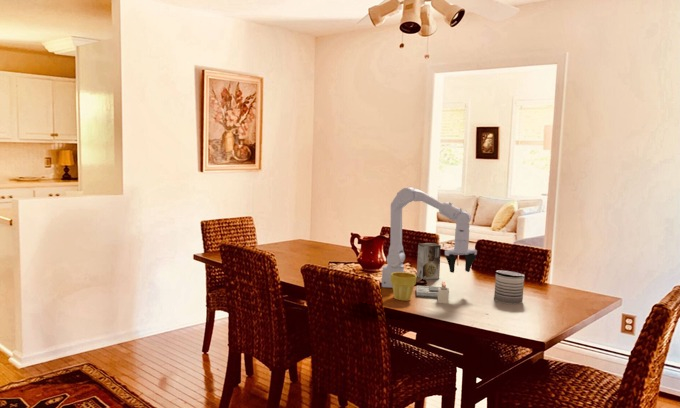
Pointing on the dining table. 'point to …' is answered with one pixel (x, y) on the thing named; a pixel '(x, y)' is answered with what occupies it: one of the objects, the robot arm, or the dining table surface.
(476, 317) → the dining table surface
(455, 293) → the dining table surface
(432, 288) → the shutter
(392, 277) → the plant pot
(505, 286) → the can
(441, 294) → the plug
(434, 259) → the coffee box
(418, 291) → the socket plate
